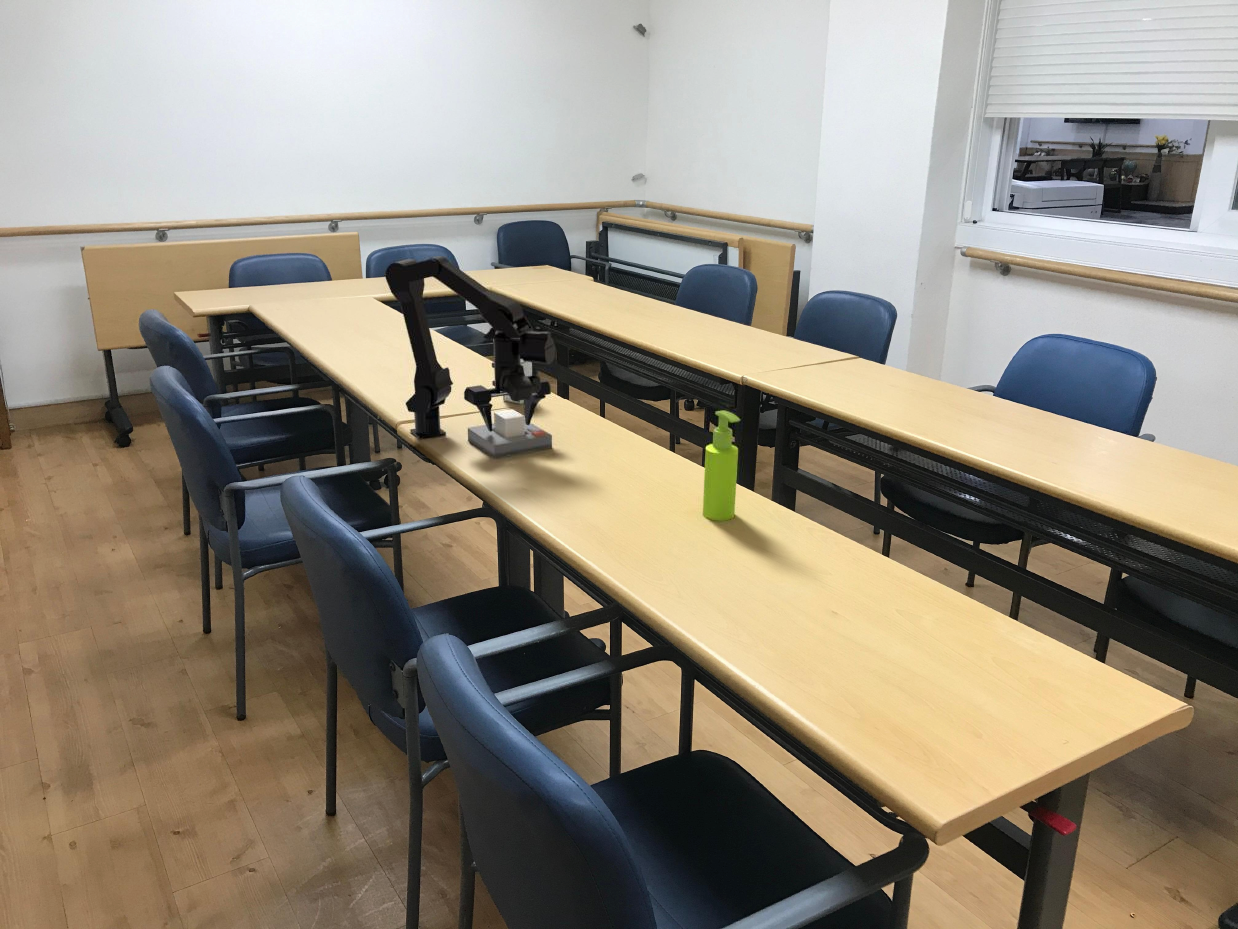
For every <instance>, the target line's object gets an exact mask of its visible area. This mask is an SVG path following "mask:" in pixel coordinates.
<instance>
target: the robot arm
mask: <svg viewBox="0 0 1238 929" xmlns="http://www.w3.org/2000/svg"><path fill="white" fill-rule="evenodd" d="M384 277H385V281H386V283H387V286H388V289H389V290H390V292H391V294H392V295H393V297H394V298H395V299H396V300H397V302H398V303H399V304H400V308H401V311H402V315H403V318H404V323H405V327H406V332H407V335H408V338H409V344H410V348H411V352H412V355H413V360H414V363H415V373H414V378H413V385H414V386H413V388H414V394H413V395H412V396H411V397H410V398H408V400H406V401H405V406H406V408H407V411H408V413H413V416H414V428H412V429H409V432H410V433H411V434H412V435H414V436H415V437H416V438H418V439H419V440H421V439H428V438H434V437H440V436H446V435H447V431H445V430H444V429H442V428H441V416H440V406H442V405H445V403H446V399H447V398H448V397H449V395H450V394H451V392H452V386H453V385H454V382H453V381H452V378H451V373H450V369H449V367H444V368H443V367H442V366H441V364H440V363H439V362H438V360H437V355H436V351H435V347H434V342H433V338H432V335H431V334H432V333H431V330H430V325H429V323H428V319H427V313H426V310H425V306H424V301H423V296H424V290H425V287H426V286H425V285H426V284H425V279H427V278H432V277H433V278H434V279H436V280H437V281H438V282H440V283H441V284H442V285H444V286H445V287H447V288H448V289H450V290H451V291H453V292H454V293H455V294H457V295H458V297H459V296H460V297H461V298H462V299H464V300H465V301H467V302H468V303H469V304H470V305H472V306H473V307H475V308H476V309H477V310H478V311H479V314H480V315H481V317H482V318H483V320H485V322H486V323H487V324H489V326H490V327H491V328H490V329H489V331H488V332H487V333H486V334H484V335H483V338H484V339H485V340H493V362H491V367H492V368H493V369H494V372H493V373H494V380H492V383H491V384H492V386H493V388H487V387H485V386H484V385H482V384H481V385H480V384H479V385H473V386H467V387H465V389H464V392H463V399H464V401H466V402H468V403H470V405H471V404H472V405H473V406H476V408H477V410H478V411H479V413H480V416H481V418H482V419H483V422H484V425H486V426H487V428H488V430H489V431H490V432H492V424H493V419H492V408H493V404H492V403H490V402H491V401H492V398H497V397H503V396H504V395H509V396H510V398H511V400H513V401H516V402H517V401H520V400H524V403H523V410H524V412H523V414H524V415H523V416H524V419H525V422H526V425H530V423H532V418H533V415H534V413H535V410H536V408H537V405H538V404H539V402H540V401H541V400H543V399H546V396H547V395H551V394H552V385H551V383H550V382H549V380H546V379H544V378H542V377H540V376H539V375H538V374H532V375H531V376H525V374H524V368H523V365H521V362H520V359H523V361H525V362H532V364H533V363H534V364H542V365H543V364H544V365H552V364H553V361H554V359H555V355H556V345H555V342H554V338H552V332H551V331H534V328H533V326H532V324H531V323H530V322H529V320H528V319H527V317H526V316H525V315H524V312H523V306H522V305H521V304H520V303H519V301H516V300H514V299H512V298H510V297H508V296H506V295H503V294H499V293H496V292H494V291H492V290H489V289H488V288H487V287H485V286H483V285H482V284H481V283H480V282H478V280H476V279H474V278H472V277H471V276H470V275H468V274H467V273H465V272H464V271H463V270H461V269H460V268H459V267H457V266H455V265H454V263H452V262H450V260H449V259H448V258H446V257H445V256H442V255H438V256H434V257H431V258H428V259H425V260H420V261H417V260H415V259H414V258H413V259H412V258H407V259H404V260H400V261H399V260H398V261H397V262H396V261H395V262H393V263H391V264H389V265H388V266H387V268H386V270H385V273H384Z"/></svg>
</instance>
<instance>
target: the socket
mask: <svg viewBox="0 0 1238 929" xmlns="http://www.w3.org/2000/svg"><path fill="white" fill-rule="evenodd" d="M467 441H469V443H471V444H473V445H474V446H476V447H477V448H478V449H480V450H482V452H484V453H486V454H487V455H489V456H490V457H492V458H493V459H500V458H505V457H510V456H516V455H521V454H525V453H526V454H528V453H532V452H537V451H542V450H549V449H552V448H553V435H552V434H551V433H549V432H548V431H545V430H544V429H543V428H540V427H538V426H537V425H535V424H533V423H532V422H530V425H526V422H525V435H520V436H515V437H509V438H504V437H501V436H500V435H499V434H498V433H496V432H495V431H494V422H492V432H490V431H489V430H488V428H487V426H486V424H483V425H476V426H469V427H467Z"/></svg>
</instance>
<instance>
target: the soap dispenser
mask: <svg viewBox="0 0 1238 929" xmlns="http://www.w3.org/2000/svg"><path fill="white" fill-rule="evenodd" d="M714 414H715V415H716V416H717V417H718V426H717V427H716V428H713V432H712V433H713V434H712V443H709V444H708V445H706V446H705V456H704V459H705V460H704V480H703V498H702V499H703V500H702V516H703V517H704V518H706V519H708V520H711V521H729V520H731V519H733V518H734V517H735V512H736V511H735V510H736V508H735V507H736V496H737V495H736V493H737V491H736V490H737V477H738V476H737V474H738V460H739V448H738V447H737V446H736V445H734V444H732V443H733V430H732V428H730V427H729V423H731V424H732V423H738V422H741V419H740V418H739V417H738V415H736V414H734V412H730V411H728V410H717V411H715V413H714Z"/></svg>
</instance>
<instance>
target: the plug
mask: <svg viewBox="0 0 1238 929" xmlns="http://www.w3.org/2000/svg"><path fill="white" fill-rule="evenodd" d="M493 423H494V431H495V432H496V433H498V434H499V435H500V436H501V437H504V438H509V437H515V436H520V435H525V415H523V414H521V413H520V412H517V411H516V410H515V409H512V408H511V409H507V410H499V411H493Z"/></svg>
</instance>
